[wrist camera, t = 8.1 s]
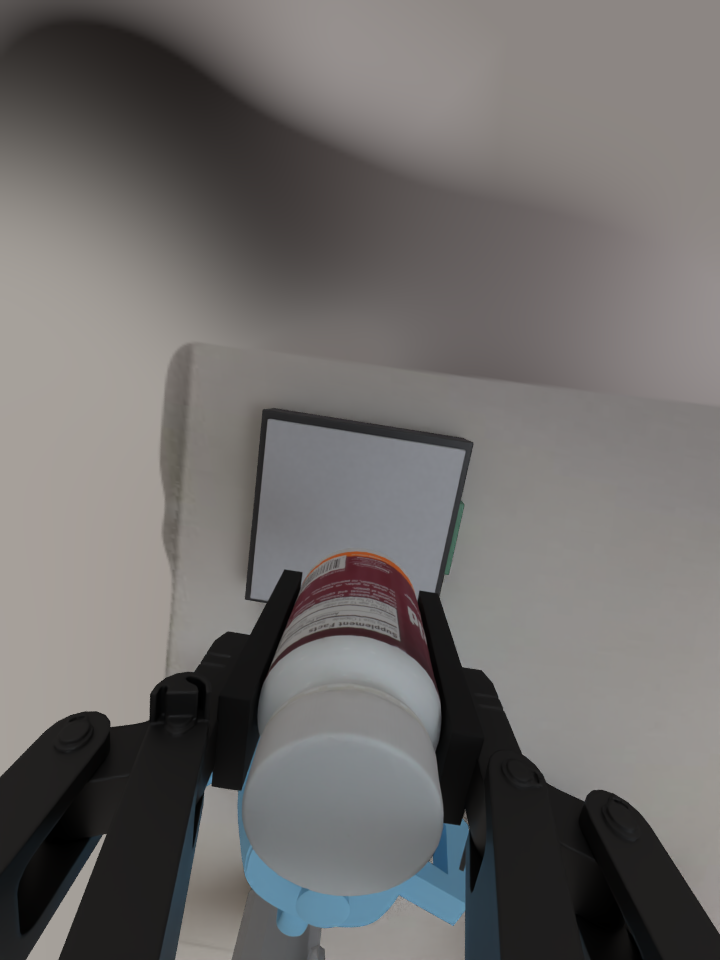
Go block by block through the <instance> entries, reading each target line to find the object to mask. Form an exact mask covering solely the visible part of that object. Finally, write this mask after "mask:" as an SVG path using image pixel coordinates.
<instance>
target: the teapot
mask: <svg viewBox="0 0 720 960" xmlns="http://www.w3.org/2000/svg"><path fill="white" fill-rule="evenodd" d="M259 740H260V737H259ZM259 740H258V742H259ZM257 745H258V743H257ZM256 748H257V746H256ZM255 753H256V749H255V752H254V755H253V758H252V761H251V764H250V767H249V770H248V772H247V775H246V778H245V781H244V784H243V787H242V790H241V791H238V824H239V836H240V845H241V855H242V862H243V867H244V873H245V877H246V879H247V881H248V883H249V884H250V886H251V887H252V889H253V890H254V891H255V892H256V893H257V894H258V895H259V896H260V897H261V898H263V899H264V900H265V901H267V902H268V903H270V904H271V905H273V906H275V907H277V908H278V910H277V918H276V923H277V927H278V929H279V930H280V931H281V932H282V933H283V934H285V935H288V936H292V937H295V936H300V935H301V934H303V933H304V931H305V930H306V928H307V926H308V924H310V925H312V926H315V927H319V928H332V927H360V926H365V925H368V924H371V923H373V922H375V921H376V920H378V919H379V918H380V917H381V916H382V915H383V914H384V913H385V912H387V910H388V909H389V908H390V907H391V906H392V904H393V903H394V902H395V900H396V899H397V897H398V896H399V895H400V896H401V897H403V898H405V899H407V900H408V901H410V902H412V903H414V904H416V905H417V906H419V907H421V908H423V909H424V910H426V911H428V912H430V913H431V914H433V915H435V916H437V917H438V918H440V919H442V920H444V921H445V922H447V923H449V924H451V925H452V926H454V924H455V923H456V922H457V921H458V919H459V918H460V917H461V915H462V914H463V913H464V911H465V868H464V872H463V871H461V870H459V867H460V862H461V858H462V854H463V851H464V847H465V843H466V840H467V836H468V825H467V823H466V822H465V821H464V820H463V819H462V822H461V825H460V826H459V825H453V824H447V823H443V830H442V835H441V839H440V842H439V844H438V847H437V848H436V850H435V852H434V854H433V864H432V863H430V862H429V861H428V862H427V864H426V865H425V866H424V867H423V868H422V869H421V870H420V871H419V872H418V873H416V874H415V875H414V876H413V877H411V878H410V879H408V880H407V881H405V882H403V883H402V884H400V885H398V886H395V887H393V888H391V889H388V890H386V891H382V892H379V893H373V894H368V895H360V896H334V895H328V894H322V893H318V892H314V891H311V890H309V889H306V888H303V887H301V886H298V885H296V884H294V883H292V882H290V881H288V880H286V879H284V878H283V877H281V876H279V875H278V874H277V873H276V872H274V871H273V870H272V869H271V868H269V867H268V866H267V865H266V864H265V863H264V862H263V861H262V860H261V859H260V857H259V856H258V855H257V854H256V852H255V851H254V850H253V848H252V846H251V844H250V842H249V840H248V838H247V835H246V832H245V830H244V825H243V820H242V799H243V794H244V790H245V786H246V782H247V779H248V775H249V772H250V769H251V766H252V762H253V759H254V756H255ZM212 773H213V772H212ZM210 784H212V774H211V776H210V779H209V781H208V783H207V786H208V785H210Z"/></svg>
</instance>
